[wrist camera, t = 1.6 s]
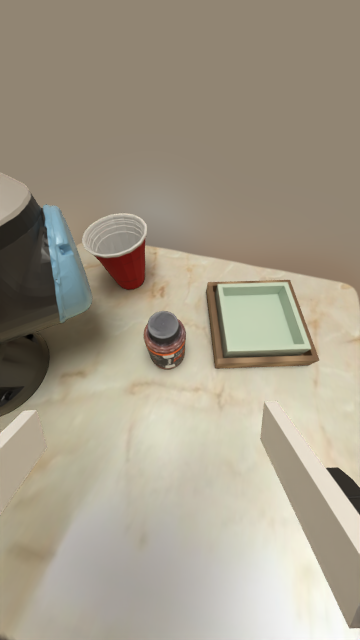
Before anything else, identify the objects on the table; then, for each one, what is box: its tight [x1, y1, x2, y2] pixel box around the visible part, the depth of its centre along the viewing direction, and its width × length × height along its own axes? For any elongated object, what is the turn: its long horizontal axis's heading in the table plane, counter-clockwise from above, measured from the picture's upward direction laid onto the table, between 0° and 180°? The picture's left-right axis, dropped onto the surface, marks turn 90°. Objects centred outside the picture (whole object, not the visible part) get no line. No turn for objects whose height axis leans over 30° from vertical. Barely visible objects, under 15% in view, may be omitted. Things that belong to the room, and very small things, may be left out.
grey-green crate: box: [215, 282, 311, 358], centre depth 35 cm, size 13×13×4 cm
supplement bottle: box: [144, 311, 186, 369], centre depth 30 cm, size 6×6×11 cm
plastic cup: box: [82, 213, 147, 290], centre depth 38 cm, size 11×11×12 cm
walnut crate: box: [206, 280, 319, 369], centre depth 36 cm, size 16×16×3 cm
